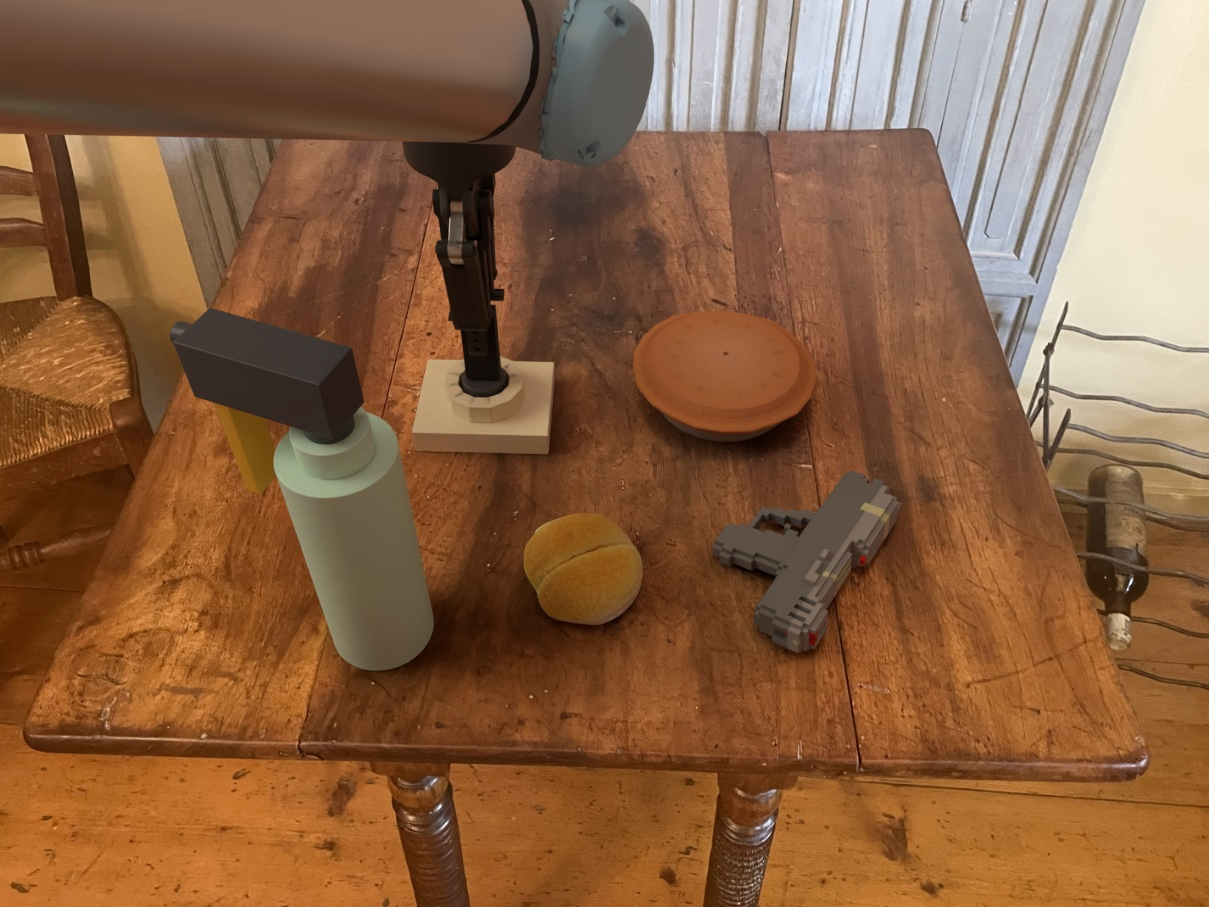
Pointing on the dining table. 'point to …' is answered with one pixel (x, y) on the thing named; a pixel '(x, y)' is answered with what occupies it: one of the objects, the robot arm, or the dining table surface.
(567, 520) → the bread roll
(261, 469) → the strip
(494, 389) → the timer button
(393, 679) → the dining table surface
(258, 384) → the spray bottle
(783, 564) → the toy gun
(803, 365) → the pie
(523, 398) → the timer
